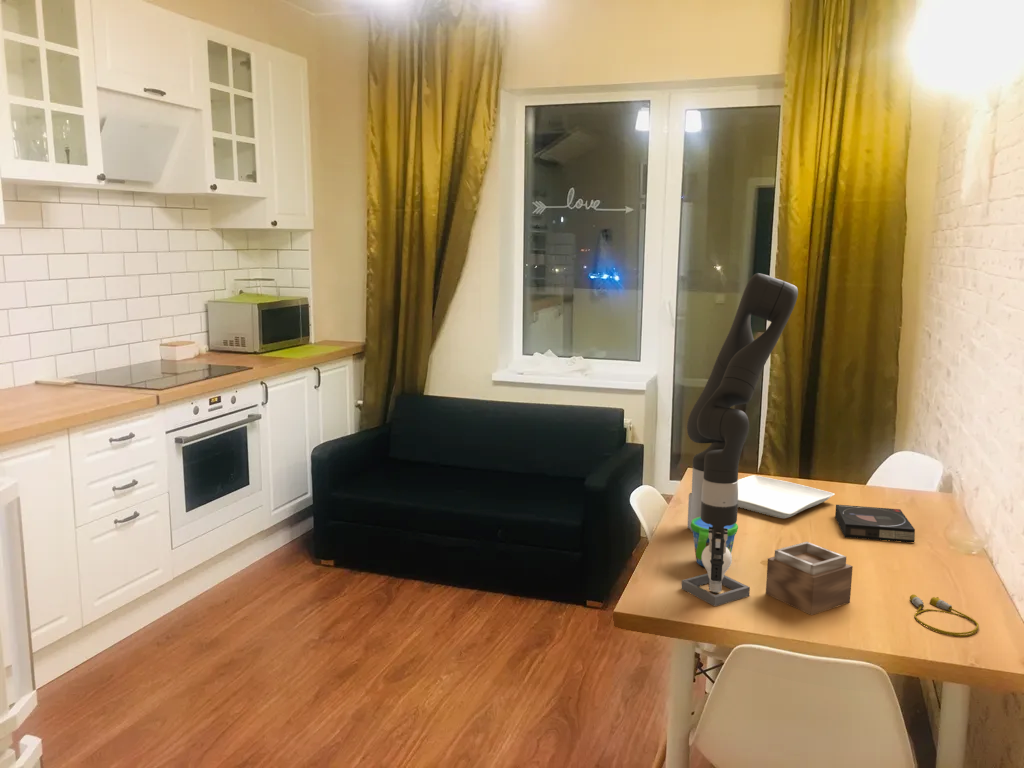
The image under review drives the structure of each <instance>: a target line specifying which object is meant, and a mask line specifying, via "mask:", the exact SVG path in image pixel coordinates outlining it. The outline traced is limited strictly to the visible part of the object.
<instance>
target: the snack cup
mask: <svg viewBox="0 0 1024 768" xmlns="http://www.w3.org/2000/svg"><path fill="white" fill-rule="evenodd" d="M709 527H712V525H711V524H707V523H705V522H703V521H702V520H701V517H698V518H695V519H693V520H692V522H691V528H692V530H693V532H692V537H693V543H694V552H695V560H696V563H697V564H698V565H700V566H701V567H703V568H705V567H704V565H703V563H702V558H701V557H702V552H703V550H704V549H705V547H706V546H708V545H709V538H708V536H709ZM724 528H728V531H727V532H728V538H727V541H726V547H727V548H728V549H729V551H730V552H731V553H732V551H733V548H734V543H735V537H736V534H737V532H738V529H739V525H738V523H737V522H736V523H735V524H733V525H730V526H725V527H724Z"/></svg>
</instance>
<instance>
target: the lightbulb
mask: <svg viewBox="0 0 1024 768" xmlns="http://www.w3.org/2000/svg"><path fill="white" fill-rule="evenodd" d="M701 558H702V563H703V565H704V567H703V568H705V570H706V572H707V573H708V577H709V583H708V591H709V592H710V593H712V594H719V593H722V588H723V587H722V586H723V585H722V580H723V578H724V575H726V574H725V573H726V572H727V571H728V570H729V569H730V567H731V565H732V562H733V556H732V552H730V551H729V549H728V548H727V547H726V553H725V554H723V561H724V564H723V565H722V580H721V581H720V582H719V581H712V580H711V562H710V560H711V553H710V552H709V545H708V546H706V547H705V549H704V550H703V552H702V557H701ZM714 558H715V559H721V555H714ZM714 558H713V559H714ZM707 573H706V574H707Z"/></svg>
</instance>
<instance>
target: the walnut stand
mask: <svg viewBox="0 0 1024 768" xmlns="http://www.w3.org/2000/svg"><path fill="white" fill-rule="evenodd" d="M766 565H767V567H766V568H767V569H766V580H765V581H766V582H765V583H766V584H765V586H766V587H765V594H766V595H768V596H770V597H772V598H774V599H777V600H778V601H780V602H783V603H785V604H787V605H789V606H792V607H793V608H795V609H797V610H800V611H801V612H804V613H806V614H809V615H811V616H813V615H816V614H819V613H822V612H825V611H829V610H831V609H834V608H837V607H840V606H843V605H845V604H848V603H850V602H851V593H852V581H853V580H852V579H853V578H852V577H853V565H850V564H848V563H847V556H846V555H844V554H841V553H838V552H836V551H832V550H830V549H827V548H825V547H822V546H820V545H817V544H814V543H812V542H809V541H804V542H800V543H797V544H796V543H795V544H793V545H790V546H785V547H781V548H779V549H775V550H774V556H772V557H768V558H767V564H766Z"/></svg>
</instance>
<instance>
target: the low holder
mask: <svg viewBox="0 0 1024 768" xmlns="http://www.w3.org/2000/svg"><path fill="white" fill-rule="evenodd" d="M707 583H708V584H709V577H708V573H704V574H700V575H696V576H693V577H689V578H685V579H682V580H681V587H680V588H681V590H682V591H684V590H685V592H686V591H687V593H688V592H689V594H690V593H691V594H690V595H692V594H693V595H692V596H694V595H695V596H694V597H697V598H698V599H700V600H702V601H704V602H706V603H708V604H710V605H712V606H713V607H717V606H720V605H724V604H727V603H731V602H734V601H737V600H740V599H744V598H746V597H750V592H751V591H750V590H751V588H750V586H749V585H746V584H744V583H741V582H739V581H738V580H736V579H733V578H731V577H729V576H727V575H726V574H724V578H723V580H722V586H724V587H726V588H728V589H730V590H728V591H724V592H720V593H716V594H715V593H713V592H711V591H709V590H706V589H704V588H702V587H701V586H704V585H703V584H705V585H707ZM700 585H701V586H700Z"/></svg>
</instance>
